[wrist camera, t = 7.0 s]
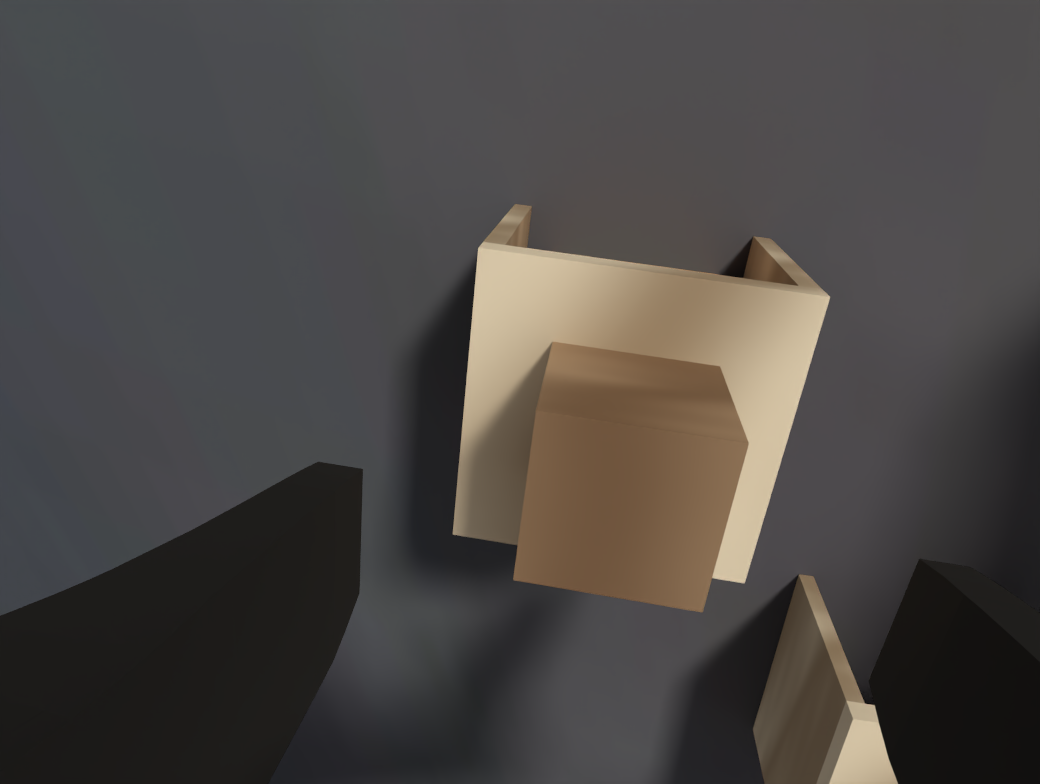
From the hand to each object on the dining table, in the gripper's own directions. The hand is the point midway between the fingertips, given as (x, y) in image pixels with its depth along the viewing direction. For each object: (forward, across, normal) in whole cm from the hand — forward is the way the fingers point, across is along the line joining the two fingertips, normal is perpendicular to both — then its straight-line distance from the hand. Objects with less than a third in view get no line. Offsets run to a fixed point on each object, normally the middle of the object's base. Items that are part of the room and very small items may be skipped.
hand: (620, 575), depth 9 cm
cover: (+9, 0, 0) cm, 9 cm away
